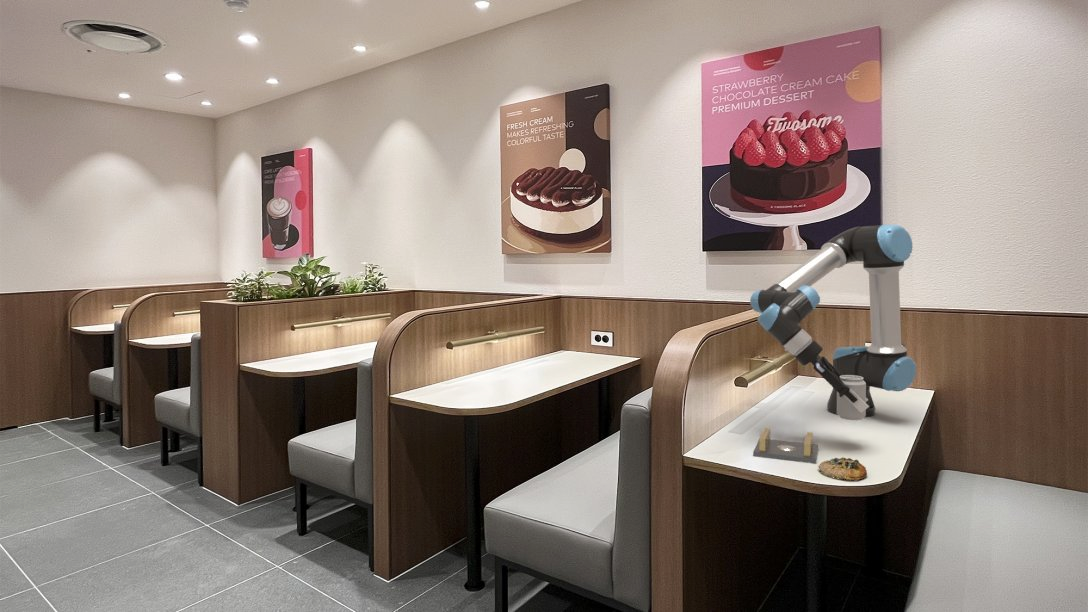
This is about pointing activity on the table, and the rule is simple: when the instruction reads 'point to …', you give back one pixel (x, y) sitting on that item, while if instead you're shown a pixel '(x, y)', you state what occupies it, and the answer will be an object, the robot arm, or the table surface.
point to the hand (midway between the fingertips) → (864, 406)
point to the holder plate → (786, 448)
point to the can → (844, 405)
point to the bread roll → (843, 469)
